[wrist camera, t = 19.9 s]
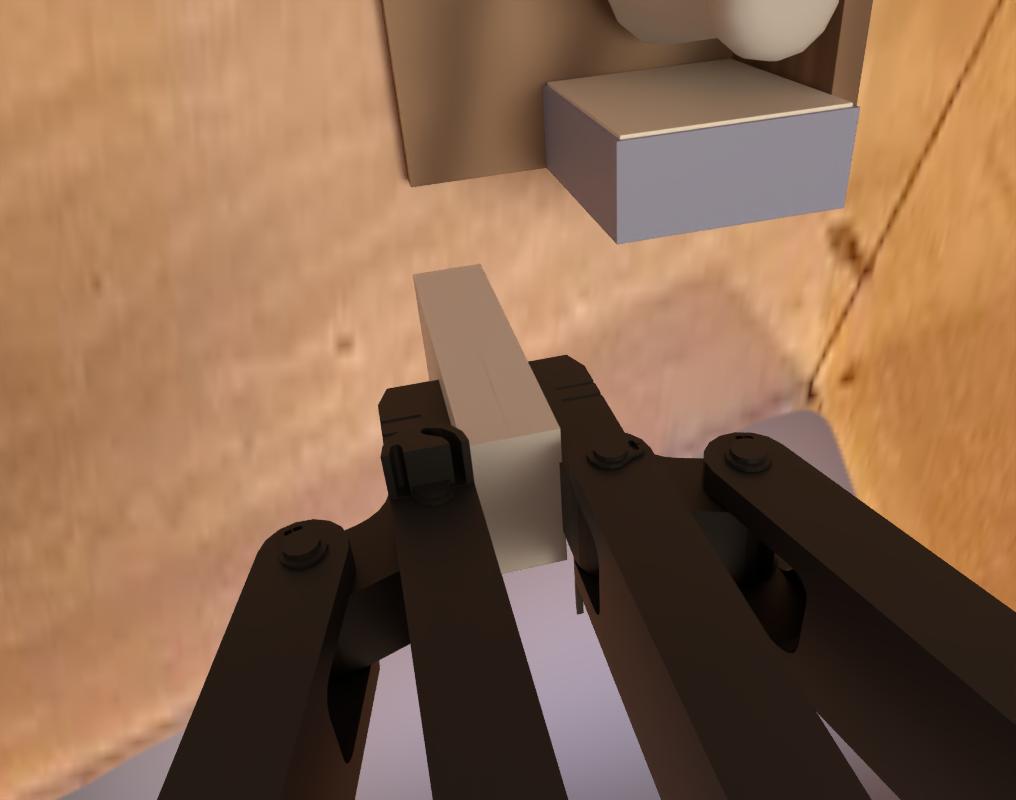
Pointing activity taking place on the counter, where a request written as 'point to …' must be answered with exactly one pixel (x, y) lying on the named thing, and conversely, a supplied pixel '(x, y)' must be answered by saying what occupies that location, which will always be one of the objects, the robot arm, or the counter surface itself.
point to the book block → (697, 147)
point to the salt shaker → (729, 23)
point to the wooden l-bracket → (548, 73)
